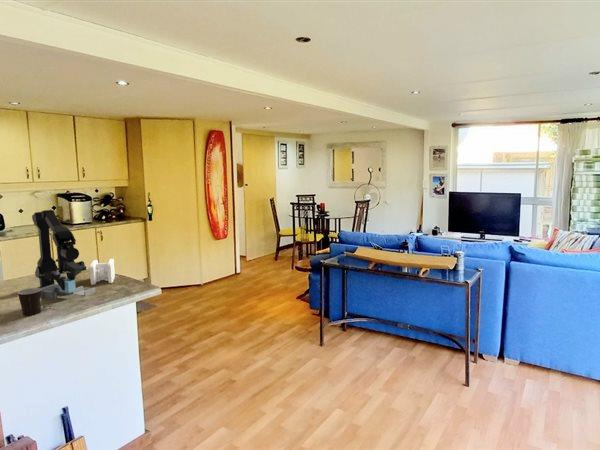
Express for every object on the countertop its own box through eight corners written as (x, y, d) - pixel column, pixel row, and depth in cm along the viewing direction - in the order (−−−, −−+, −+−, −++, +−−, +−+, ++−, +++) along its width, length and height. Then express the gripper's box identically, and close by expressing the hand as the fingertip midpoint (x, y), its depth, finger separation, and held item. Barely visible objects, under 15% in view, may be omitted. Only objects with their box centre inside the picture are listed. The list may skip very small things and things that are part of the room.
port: (36, 300, 198) (34, 288, 198) (58, 292, 210) (57, 281, 209) (52, 302, 195) (51, 291, 194) (74, 294, 206) (73, 284, 205)
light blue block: (59, 291, 198) (58, 279, 197) (66, 289, 202) (65, 277, 201) (69, 292, 196) (67, 280, 195) (75, 290, 199) (74, 278, 198)
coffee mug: (27, 309, 186) (24, 288, 184) (47, 309, 187) (45, 287, 185) (11, 320, 174) (8, 296, 173) (33, 319, 175) (30, 296, 174)
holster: (72, 295, 205) (71, 289, 205) (82, 291, 211) (81, 286, 210) (85, 297, 202) (85, 291, 202) (95, 293, 208) (95, 287, 207)
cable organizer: (112, 285, 221) (110, 264, 219) (89, 287, 218) (88, 265, 216) (115, 277, 235) (113, 257, 233) (94, 279, 232) (93, 258, 230)
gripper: (59, 263, 185) (62, 297, 187) (93, 253, 202) (96, 285, 204) (41, 260, 188) (44, 294, 191) (76, 251, 206) (79, 282, 208)
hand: (67, 288), depth 199 cm, fingers closed on light blue block, 4 cm apart
